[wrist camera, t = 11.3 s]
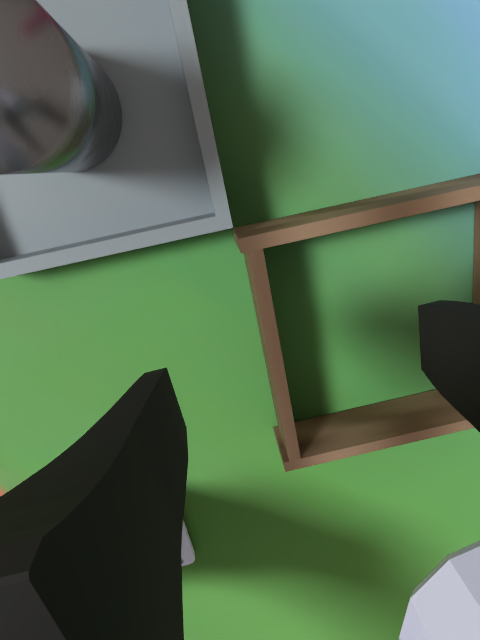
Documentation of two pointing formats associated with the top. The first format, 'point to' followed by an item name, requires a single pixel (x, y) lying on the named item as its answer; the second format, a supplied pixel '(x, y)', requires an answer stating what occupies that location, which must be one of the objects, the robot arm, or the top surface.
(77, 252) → the slate tray
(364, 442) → the walnut box
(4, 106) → the metal tin
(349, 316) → the top surface
